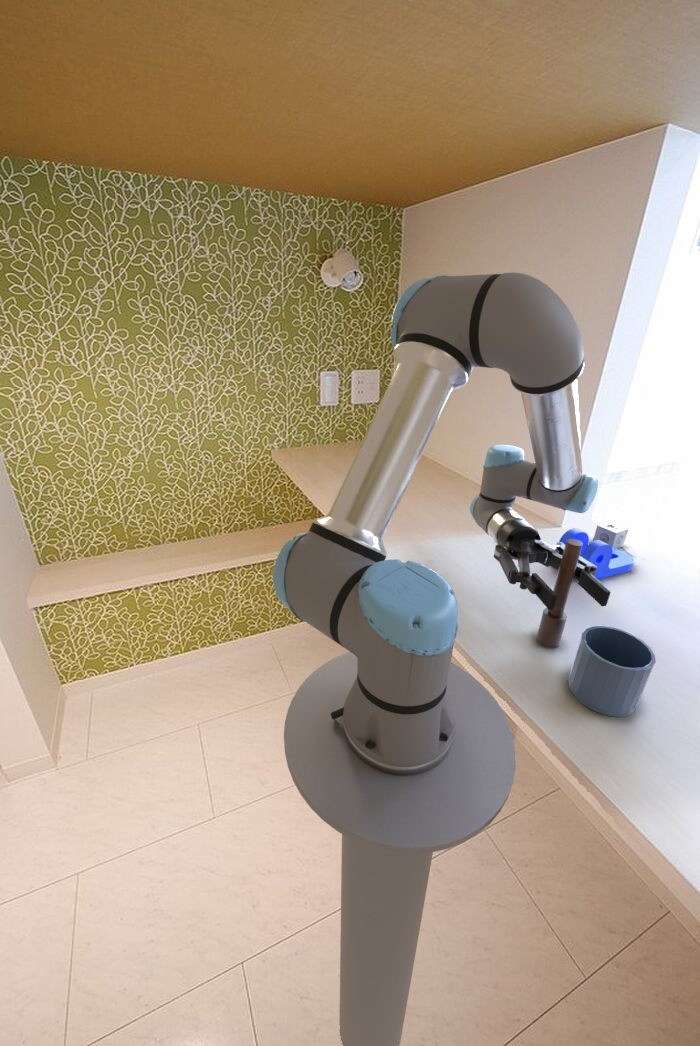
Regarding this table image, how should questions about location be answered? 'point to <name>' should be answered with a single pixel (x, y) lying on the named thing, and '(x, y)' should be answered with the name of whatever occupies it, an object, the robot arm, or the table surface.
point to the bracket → (601, 555)
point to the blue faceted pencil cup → (610, 670)
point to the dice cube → (611, 534)
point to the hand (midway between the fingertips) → (579, 600)
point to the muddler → (560, 597)
